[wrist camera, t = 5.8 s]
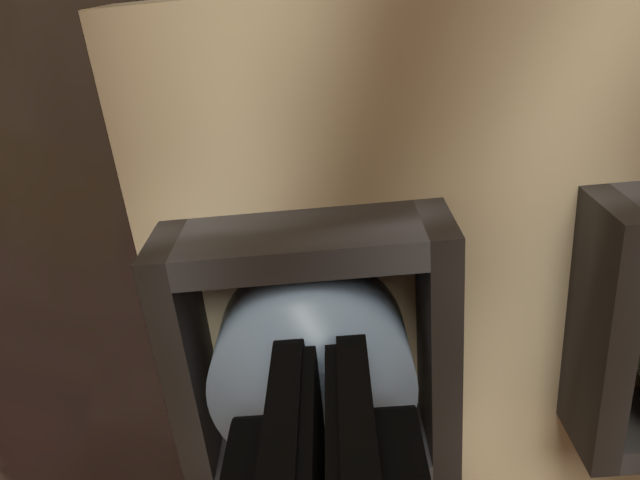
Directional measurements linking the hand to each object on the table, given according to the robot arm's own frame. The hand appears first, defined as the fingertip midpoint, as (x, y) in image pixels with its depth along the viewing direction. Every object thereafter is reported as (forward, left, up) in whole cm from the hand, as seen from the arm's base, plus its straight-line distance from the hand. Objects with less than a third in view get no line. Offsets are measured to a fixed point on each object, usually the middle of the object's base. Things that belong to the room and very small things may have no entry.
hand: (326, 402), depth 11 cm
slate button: (0, 0, -2) cm, 2 cm away
